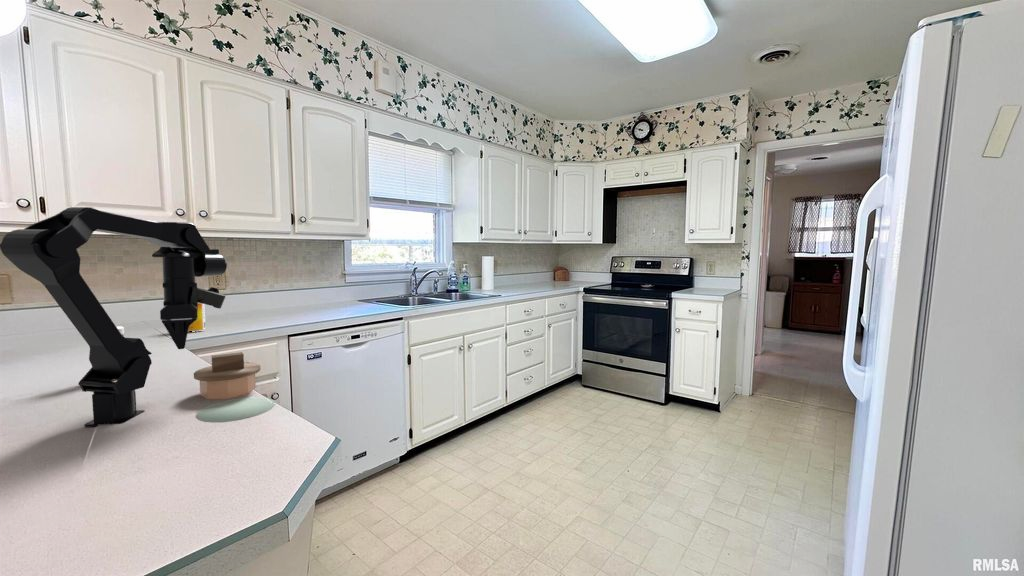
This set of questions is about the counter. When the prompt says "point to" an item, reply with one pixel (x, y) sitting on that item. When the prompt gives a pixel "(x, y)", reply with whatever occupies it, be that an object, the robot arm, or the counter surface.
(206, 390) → the terracotta bowl
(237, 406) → the sage mat
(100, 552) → the counter surface
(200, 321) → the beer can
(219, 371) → the walnut lid
